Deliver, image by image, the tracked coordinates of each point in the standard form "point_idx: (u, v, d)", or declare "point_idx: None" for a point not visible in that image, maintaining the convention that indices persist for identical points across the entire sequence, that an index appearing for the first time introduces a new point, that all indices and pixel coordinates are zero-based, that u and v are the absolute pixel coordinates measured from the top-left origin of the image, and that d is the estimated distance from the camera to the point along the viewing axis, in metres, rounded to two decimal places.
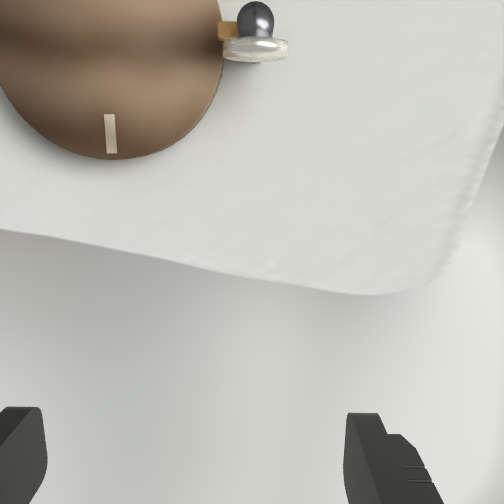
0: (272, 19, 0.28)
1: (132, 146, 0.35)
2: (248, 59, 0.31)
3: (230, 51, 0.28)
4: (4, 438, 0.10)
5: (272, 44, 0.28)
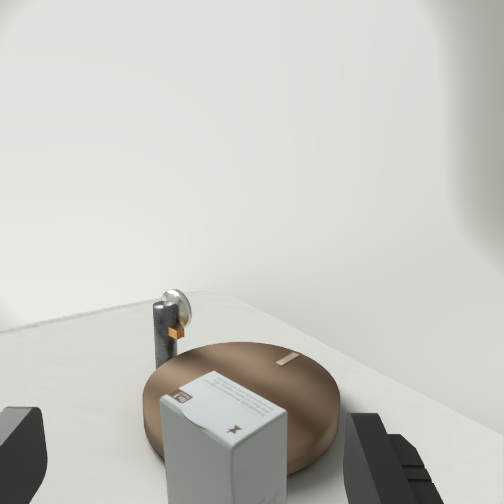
0: (157, 302, 0.47)
1: (280, 351, 0.47)
2: None
3: (187, 299, 0.47)
4: (4, 438, 0.10)
5: None
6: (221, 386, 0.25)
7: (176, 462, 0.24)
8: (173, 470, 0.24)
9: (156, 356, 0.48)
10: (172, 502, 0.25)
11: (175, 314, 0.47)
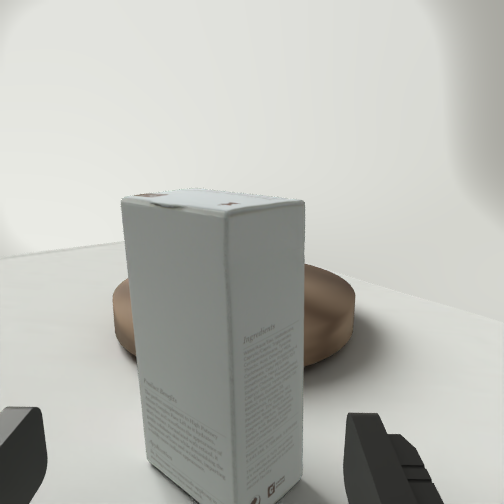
0: None
1: None
2: None
3: None
4: (4, 438, 0.10)
5: None
6: (209, 191, 0.18)
7: (145, 289, 0.17)
8: (141, 307, 0.17)
9: None
10: (142, 360, 0.18)
11: None
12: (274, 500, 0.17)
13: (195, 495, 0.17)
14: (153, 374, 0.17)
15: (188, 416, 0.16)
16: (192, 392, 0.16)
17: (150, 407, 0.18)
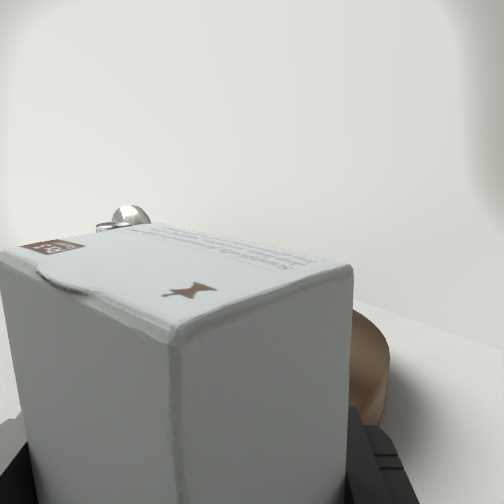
0: (103, 223, 0.32)
1: None
2: None
3: (148, 217, 0.32)
4: None
5: None
6: (169, 234, 0.10)
7: (42, 429, 0.09)
8: (39, 454, 0.09)
9: None
10: None
11: None
12: None
13: None
14: None
15: None
16: None
17: None
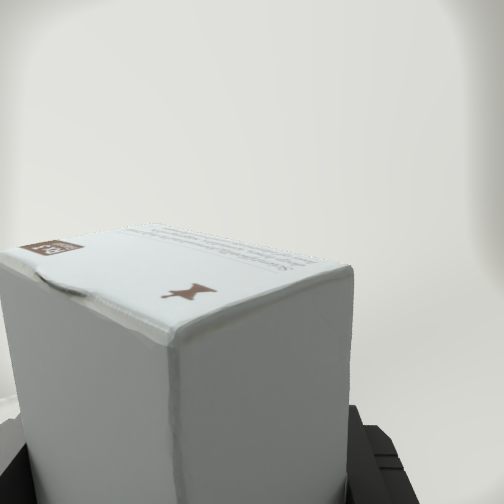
0: None
1: None
2: None
3: None
4: None
5: None
6: (169, 235, 0.10)
7: (41, 430, 0.09)
8: (39, 456, 0.09)
9: None
10: None
11: None
12: None
13: None
14: None
15: None
16: None
17: None
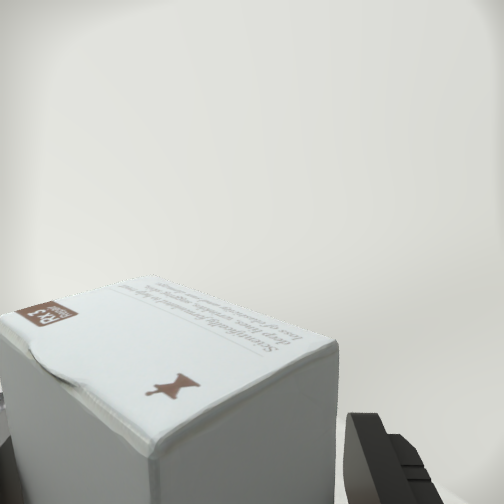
0: None
1: None
2: None
3: None
4: (4, 438, 0.10)
5: None
6: (161, 295, 0.10)
7: (35, 492, 0.09)
8: None
9: None
10: None
11: None
12: None
13: None
14: None
15: None
16: None
17: None
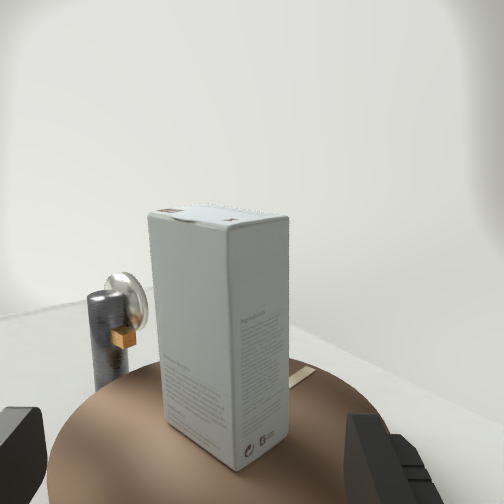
0: (95, 292, 0.31)
1: None
2: None
3: (141, 287, 0.30)
4: (4, 438, 0.10)
5: None
6: (215, 207, 0.22)
7: (166, 284, 0.21)
8: (162, 297, 0.22)
9: (95, 375, 0.31)
10: (162, 339, 0.23)
11: (123, 310, 0.30)
12: (265, 449, 0.22)
13: (203, 444, 0.22)
14: (171, 350, 0.22)
15: (198, 381, 0.21)
16: (202, 362, 0.21)
17: (168, 377, 0.23)
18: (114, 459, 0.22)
